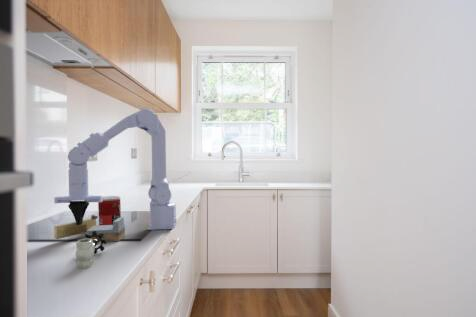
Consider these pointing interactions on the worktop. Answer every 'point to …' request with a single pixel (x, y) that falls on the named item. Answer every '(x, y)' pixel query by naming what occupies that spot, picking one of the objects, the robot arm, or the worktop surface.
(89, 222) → the bar
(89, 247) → the valve
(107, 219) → the canned food
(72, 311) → the worktop surface
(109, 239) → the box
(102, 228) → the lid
